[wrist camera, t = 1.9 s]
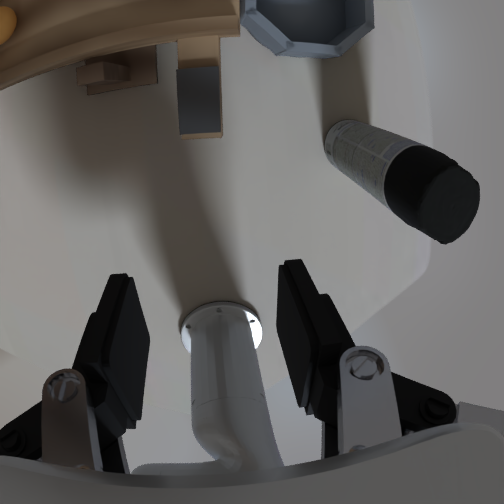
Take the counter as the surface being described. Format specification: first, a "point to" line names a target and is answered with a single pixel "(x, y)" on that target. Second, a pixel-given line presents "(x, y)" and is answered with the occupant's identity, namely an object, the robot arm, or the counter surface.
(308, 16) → the octagonal bowl
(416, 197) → the spray can
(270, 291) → the counter surface
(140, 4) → the lever tray
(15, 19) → the ball
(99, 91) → the pivot stand
